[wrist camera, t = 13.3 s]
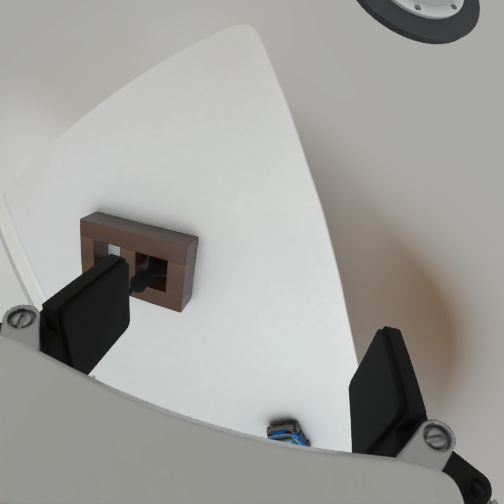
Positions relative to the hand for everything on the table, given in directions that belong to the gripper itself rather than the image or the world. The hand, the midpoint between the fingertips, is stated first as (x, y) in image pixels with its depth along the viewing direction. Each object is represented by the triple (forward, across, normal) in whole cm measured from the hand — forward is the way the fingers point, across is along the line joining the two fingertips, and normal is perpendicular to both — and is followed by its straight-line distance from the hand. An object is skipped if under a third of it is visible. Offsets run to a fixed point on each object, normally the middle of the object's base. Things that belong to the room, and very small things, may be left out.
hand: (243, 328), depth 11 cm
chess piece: (+28, +15, +14) cm, 35 cm away
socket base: (+28, +19, +14) cm, 37 cm away
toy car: (+28, -12, +45) cm, 55 cm away
